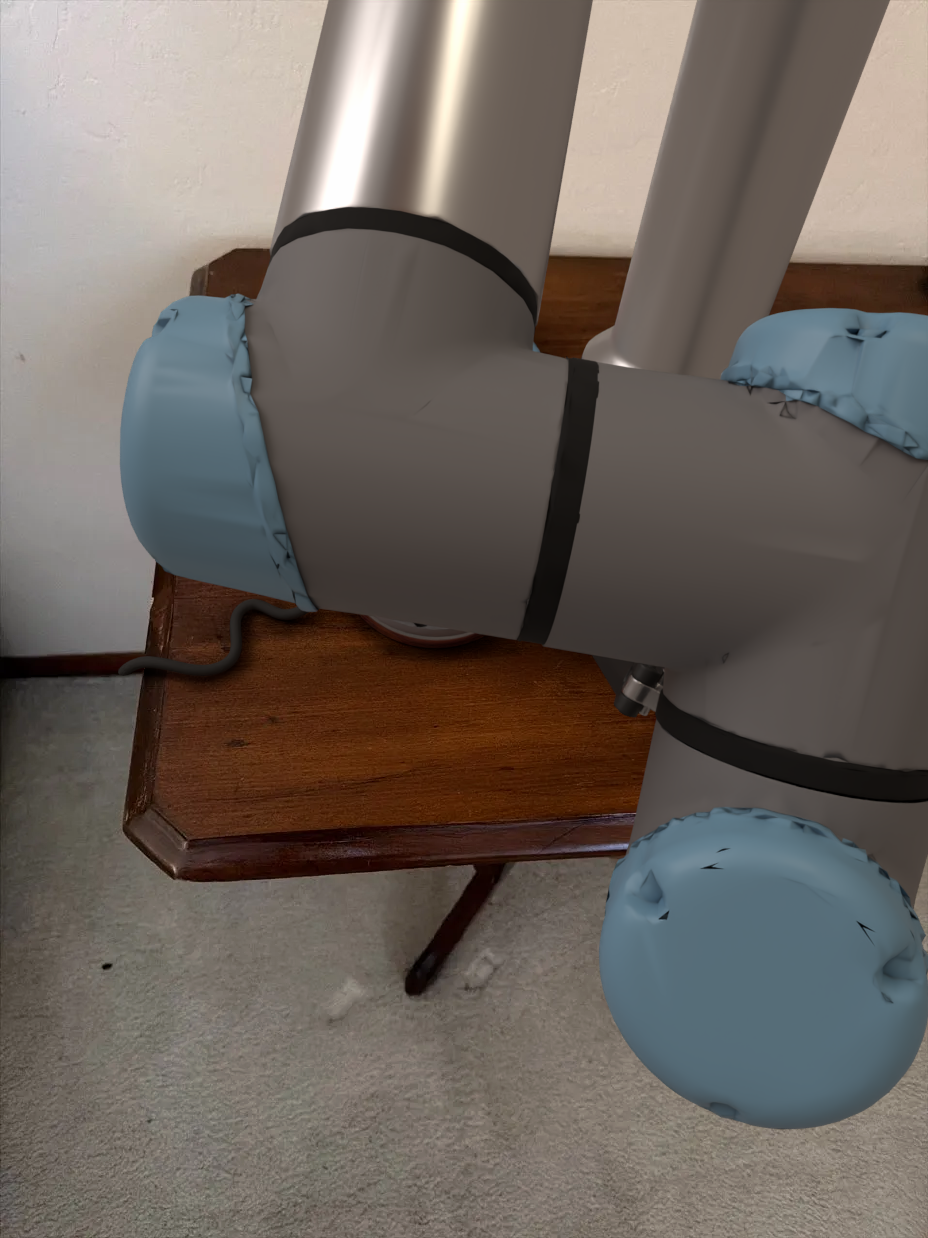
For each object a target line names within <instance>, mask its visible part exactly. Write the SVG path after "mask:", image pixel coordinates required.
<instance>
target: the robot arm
mask: <svg viewBox="0 0 928 1238" xmlns="http://www.w3.org/2000/svg"><path fill="white" fill-rule="evenodd" d="M593 2H594V0H327V4H326V8H325V13H324V17H323V22H322V26H321V29H320V35H319V38H318V43H317V46H316V51H315V56H314V60H313V64H312V68H311V73H310V78H309V80H308V85H307V89H306V94H305V98H304V103H303V107H302V111H301V114H300V119H299V124H298V128H297V132H296V136H295V141H294V145H293V149H292V154H291V158H290V162H289V166H288V170H287V175H286V179H285V183H284V188H283V193H282V196H281V201H280V203H279V204H280V205H279V209H278V213H277V218H276V223H275V227H274V231H273V235H272V238H271V243H270V247H269V255H270V257H269V262H268V266H267V270H266V271H265V274H264V275H265V276H264V278H263V282H262V285H261V288H260V290H259V292H258V294H257V297H256V298H250V297H247V296H246V295H243V294H241V293H233V294H230V295H228V296H226V297H218V296H207V295H188V296H184V297H182V298H179V299H176V300H175V301H172V302H170V304H168V306H166V307H165V308H164V309H162V310H161V311H160V313H159V316H158V317H157V320H156V322H155V323H154V325H153V326H152V330H151V336H150V337H147V338H145V339H144V340H143V342H142V343H141V344H140V346H139V348H138V349H137V351H136V353H135V355H134V358H133V360H132V363H131V367H130V371H129V373H128V378H127V383H126V388H125V392H124V398H123V404H122V408H121V409H122V410H121V417H120V418H121V419H120V427H119V472H120V484H121V490H122V491H121V492H122V497H123V501H124V504H125V510H126V513H127V517H128V519H129V522H130V526H131V527H132V529H133V532H134V533H135V535H136V538H137V540H138V542H139V543H140V544H141V546H142V547H143V548H144V549H145V551H146V552H147V553H148V555H149V556H150V557H151V558H152V559H153V560H154V561H155V562H156V563H157V564H159V565H160V566H161V568H162V569H163V571H164V572H166V573H167V574H170V575H173V576H177V577H181V578H186V579H188V580H194V581H197V582H202V583H206V584H210V585H215V586H220V587H223V588H228V589H229V588H230V589H234V590H237V591H242V592H247V593H251V594H256V595H259V596H263V597H268V598H272V599H275V600H276V599H277V600H280V601H284V602H288V603H293V604H295V605H296V606H294V607H292V608H281V607H278V606H276V605H274V604H271V603H269V602H268V601H265V600H261V599H258V598H250V599H246V600H243V601H242V602H240V603H239V604H237V605H236V607H234V608H233V610H232V613H231V615H230V620H229V637H230V648H229V652H228V654H227V655H226V656H225V657H224V658H223V659H221V660H219V661H216V662H213V663H209V664H194V663H189V662H183V661H179V660H174V659H171V658H165V657H161V656H151V655H148V656H138V657H136V658H133V659H130V660H128V661H127V662H125V663H124V664H123V665H121V666H120V667H119V668H118V671H117V673H118V675H120V676H124V677H125V676H129V675H130V674H132V673H133V672H135V671H138V670H140V669H156V670H162V671H168V672H173V673H176V674H180V675H185V676H192V677H211V676H216V675H219V674H222V673H224V672H225V671H228V670H230V669H231V668H232V667H234V665H235V664H236V663H237V662H238V660H239V659H240V656H241V654H242V651H243V650H242V649H243V636H242V619H243V617H244V616H245V614H246V613H248V612H250V611H257V612H258V611H259V612H261V613H263V614H266V616H267V615H268V616H269V617H272V618H274V619H276V620H281V621H290V620H296V619H299V618H301V617H304V616H305V615H307V614H309V613H317V612H318V611H319V610H320V609H321V610H327V611H335V612H341V613H349V614H356V615H358V616H360V618H361V619H362V620H363V621H364V622H365V623H366V624H367V625H368V626H370V627H371V628H373V630H375V631H376V632H378V633H380V634H381V635H383V636H385V637H387V638H389V639H391V640H393V641H396V642H398V643H400V644H401V643H402V644H404V645H408V646H413V647H417V648H427V649H447V648H453V647H454V648H455V647H458V646H463V645H466V644H470V643H472V642H475V641H477V640H479V639H482V638H483V637H486V636H489V637H496V638H501V639H507V640H513V641H517V642H527V643H533V644H538V645H541V646H542V647H545V648H551V649H556V650H561V651H567V652H568V651H569V652H574V653H580V654H586V655H591V656H592V658H593V660H594V661H595V663H596V665H597V666H598V668H599V669H600V671H601V674H603V676H604V678H605V679H606V681H607V683H608V684H609V686H610V688H611V689H612V691H613V692H614V694H615V697H614V701H613V707H614V708H616V710H617V711H618V712H619V713H620V714H622V715H623V716H625V717H629V718H635V719H636V718H637V717H638V715H641V716H643V717H648V715H649V714H650V712H651V711H653V712H655V713H654V715H655V718H656V719H655V723H654V728H653V733H652V736H651V740H650V741H651V742H650V746H649V751H648V755H647V761H646V764H645V769H644V774H643V779H642V783H641V787H640V788H641V789H640V794H639V797H638V801H637V807H636V812H635V816H634V821H633V825H632V830H631V834H630V838H629V842H628V844H627V849H626V853H625V855H624V856H623V857H621V858H619V859H618V860H617V862H616V863H615V865H614V868H613V871H612V874H611V878H610V882H609V886H608V889H607V895H606V899H605V900H606V901H605V906H604V907H605V908H604V909H605V910H604V917H603V920H602V926H601V930H600V937H599V944H598V965H599V966H598V968H599V975H600V982H601V988H602V992H603V995H604V998H605V1002H606V1004H607V1007H608V1010H609V1013H610V1014H611V1017H612V1019H613V1021H614V1024H615V1026H616V1027H617V1029H618V1031H619V1032H620V1035H621V1036H622V1038H623V1040H624V1041H625V1043H626V1044H627V1046H628V1047H629V1049H630V1050H631V1051H632V1053H633V1054H634V1056H636V1058H637V1059H638V1060H639V1061H640V1062H641V1064H642V1065H643V1066H644V1067H645V1068H646V1069H647V1070H648V1071H649V1072H650V1073H651V1074H652V1075H653V1076H654V1077H656V1079H658V1080H659V1081H660V1082H661V1083H662V1084H663V1085H664V1086H665V1087H667V1088H669V1089H670V1090H671V1091H672V1092H673V1093H675V1094H677V1095H678V1096H680V1097H681V1098H683V1099H685V1100H687V1101H688V1102H690V1103H692V1104H694V1105H696V1106H697V1107H700V1108H702V1109H704V1110H707V1111H709V1112H710V1113H712V1114H714V1115H716V1116H718V1117H719V1118H723V1119H727V1120H732V1121H736V1122H739V1123H743V1124H746V1125H749V1126H752V1127H757V1128H763V1129H772V1130H773V1129H774V1130H806V1129H813V1128H820V1127H823V1126H828V1125H832V1124H835V1123H839V1122H842V1121H844V1120H846V1119H848V1118H851V1117H853V1116H856V1115H858V1114H861V1113H862V1112H864V1111H866V1110H869V1108H871V1107H872V1106H874V1105H875V1104H876V1103H877V1102H879V1101H880V1100H881V1099H883V1098H884V1097H885V1096H887V1095H888V1094H889V1093H890V1092H891V1091H892V1090H893V1089H894V1087H895V1086H896V1085H897V1084H898V1083H899V1082H900V1081H901V1080H902V1079H903V1077H904V1076H905V1075H906V1074H907V1072H908V1071H909V1069H910V1068H911V1066H912V1065H913V1063H914V1062H915V1059H916V1058H917V1055H918V1053H919V1051H920V1047H921V1045H922V1043H923V1040H924V1038H925V1033H926V1029H927V1026H928V952H927V951H926V950H925V948H924V945H923V941H924V940H925V938H926V936H927V935H926V933H925V930H924V928H923V925H922V923H921V921H920V918H919V916H918V914H917V913H916V911H915V904H916V899H917V895H918V891H919V887H920V884H921V881H922V877H923V873H924V869H925V866H926V863H927V859H928V315H925V314H918V313H911V312H900V311H899V312H866V311H862V310H860V309H856V308H855V309H854V308H837V307H825V308H824V307H823V308H822V307H821V308H804V309H795V310H789V311H787V310H786V311H783V312H782V311H781V312H778V313H774V314H771V311H772V308H773V306H774V303H775V301H776V298H777V295H778V293H779V291H780V288H781V286H782V282H783V280H784V277H785V275H786V272H787V270H788V266H789V264H790V262H791V260H792V259H791V258H792V257H793V254H794V251H795V249H796V247H797V243H798V241H799V238H800V236H801V233H802V230H803V228H804V226H805V222H806V220H807V218H808V215H809V213H810V210H811V207H812V205H813V202H814V199H815V196H816V194H817V192H818V190H819V186H820V184H821V182H822V179H823V176H824V173H825V171H826V168H827V167H828V163H829V160H830V158H831V155H832V152H833V151H834V147H835V145H836V142H837V140H838V137H839V134H840V131H841V130H842V127H843V124H844V121H845V119H846V116H847V114H848V111H849V108H850V106H851V103H852V100H853V98H854V95H855V92H856V90H857V88H858V85H859V82H860V80H861V77H862V74H863V72H864V69H865V67H866V64H867V62H868V60H869V56H870V54H871V51H872V49H873V46H874V43H875V42H876V38H877V36H878V33H879V31H880V27H881V25H882V23H883V20H884V17H885V15H886V12H887V10H888V7H889V4H890V2H891V0H696V2H695V6H694V9H693V10H694V11H693V15H692V19H691V22H690V26H689V29H688V34H687V38H686V42H685V45H684V50H683V53H682V58H681V62H680V65H679V69H678V73H677V78H676V82H675V85H674V89H673V93H672V97H671V101H670V105H669V109H668V113H667V116H666V117H667V118H666V121H665V125H664V129H663V133H662V136H661V141H660V145H659V149H658V152H657V157H656V161H655V164H654V168H653V173H652V177H651V181H650V184H649V189H648V192H647V195H646V196H647V197H646V200H645V204H644V207H643V212H642V215H641V220H640V223H639V228H638V232H637V236H636V240H635V244H634V247H633V251H632V255H631V260H630V262H629V267H628V272H627V275H626V278H625V282H624V287H623V291H622V295H621V298H620V302H619V307H618V311H617V314H616V318H615V322H614V325H613V326H611V327H609V328H607V329H605V330H603V331H601V332H599V333H598V334H596V335H595V336H593V337H592V338H591V339H589V340H588V342H587V343H586V345H585V348H584V350H583V351H582V354H581V358H580V357H568V356H565V357H561V356H557V355H552V354H548V353H543V352H541V351H540V348H539V347H538V346H537V344H536V343H535V341H534V339H535V333H536V327H537V325H538V322H539V317H540V311H541V306H542V301H543V300H542V299H543V293H544V289H545V282H546V276H547V270H548V265H549V259H550V252H551V247H552V242H553V235H554V230H555V224H556V218H557V213H558V207H559V201H560V194H561V190H562V189H561V188H562V183H563V177H564V171H565V165H566V159H567V153H568V147H569V142H570V135H571V131H572V125H573V118H574V113H575V108H576V103H577V96H578V95H577V94H578V88H579V84H580V83H579V82H580V78H581V73H582V67H583V61H584V56H585V50H586V49H585V48H586V43H587V37H588V31H589V25H590V20H591V13H592V8H593ZM145 667H146V668H145Z"/></svg>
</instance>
